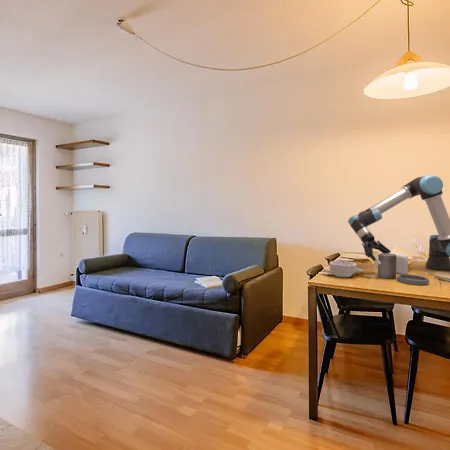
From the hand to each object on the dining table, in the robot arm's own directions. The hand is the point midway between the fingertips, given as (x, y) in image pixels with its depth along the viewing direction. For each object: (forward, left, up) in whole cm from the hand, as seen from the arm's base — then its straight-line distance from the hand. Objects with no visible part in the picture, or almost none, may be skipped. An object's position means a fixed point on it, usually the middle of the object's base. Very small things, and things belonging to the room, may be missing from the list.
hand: (386, 263), depth 185 cm
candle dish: (-8, +12, -8) cm, 17 cm away
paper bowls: (+25, -4, -8) cm, 26 cm away
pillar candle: (0, 0, -8) cm, 8 cm away
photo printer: (-14, -11, -8) cm, 20 cm away
